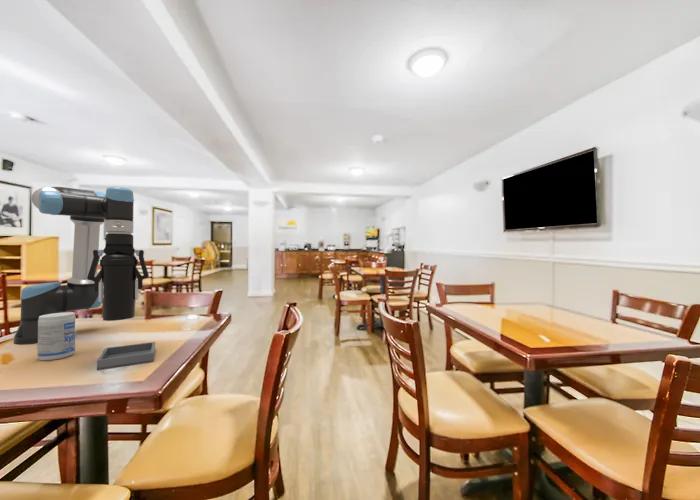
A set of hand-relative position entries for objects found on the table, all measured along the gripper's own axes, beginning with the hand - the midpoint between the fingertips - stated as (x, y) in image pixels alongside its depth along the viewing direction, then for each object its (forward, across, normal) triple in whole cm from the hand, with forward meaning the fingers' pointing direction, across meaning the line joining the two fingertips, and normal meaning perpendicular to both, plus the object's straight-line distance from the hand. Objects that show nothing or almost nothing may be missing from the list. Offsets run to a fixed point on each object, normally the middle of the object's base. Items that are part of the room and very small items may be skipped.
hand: (119, 300), depth 103 cm
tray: (+20, +3, 0) cm, 20 cm away
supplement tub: (+20, -20, +16) cm, 32 cm away
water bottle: (+6, 0, 0) cm, 6 cm away
